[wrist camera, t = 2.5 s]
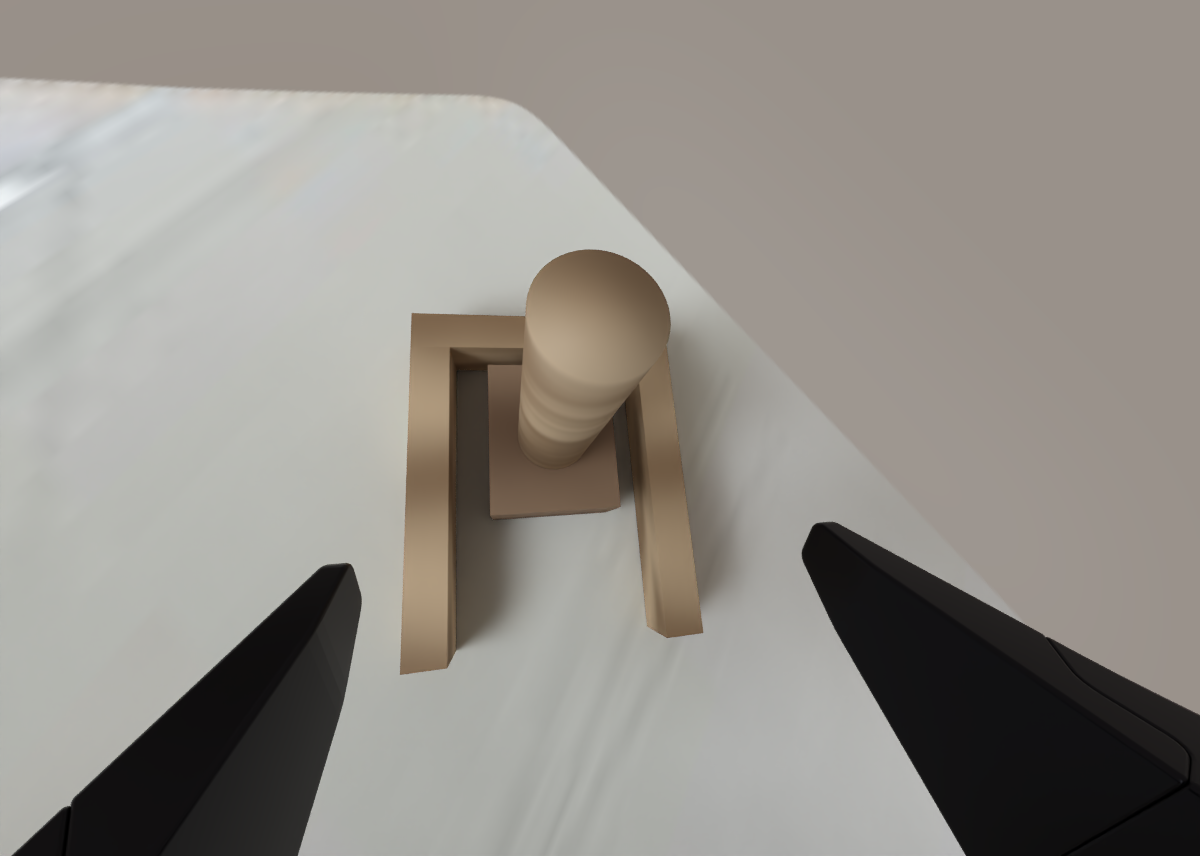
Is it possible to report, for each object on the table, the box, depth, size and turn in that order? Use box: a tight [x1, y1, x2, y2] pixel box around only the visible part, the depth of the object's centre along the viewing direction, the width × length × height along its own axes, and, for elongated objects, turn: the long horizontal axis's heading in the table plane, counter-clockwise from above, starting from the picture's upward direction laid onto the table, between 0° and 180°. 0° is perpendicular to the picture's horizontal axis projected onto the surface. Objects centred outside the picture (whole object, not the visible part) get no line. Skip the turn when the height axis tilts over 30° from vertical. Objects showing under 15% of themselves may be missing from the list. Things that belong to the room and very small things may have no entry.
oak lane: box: [400, 313, 703, 675], centre depth 18 cm, size 14×11×2 cm
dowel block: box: [488, 250, 671, 520], centre depth 14 cm, size 6×5×12 cm
